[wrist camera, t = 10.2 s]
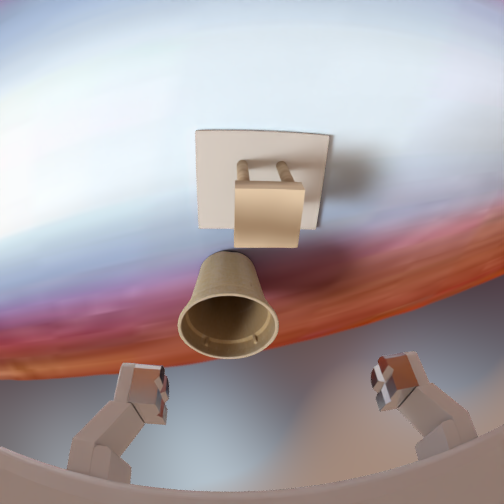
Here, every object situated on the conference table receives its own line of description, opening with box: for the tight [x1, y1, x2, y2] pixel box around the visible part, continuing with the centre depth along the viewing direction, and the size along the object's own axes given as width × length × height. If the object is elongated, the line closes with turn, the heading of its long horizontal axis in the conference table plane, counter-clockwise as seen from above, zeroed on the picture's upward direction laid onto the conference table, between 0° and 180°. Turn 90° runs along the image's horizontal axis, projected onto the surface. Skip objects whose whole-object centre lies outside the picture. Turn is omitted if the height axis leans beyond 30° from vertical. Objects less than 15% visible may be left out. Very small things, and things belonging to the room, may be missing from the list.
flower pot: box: [178, 251, 279, 359], centre depth 32 cm, size 9×9×9 cm
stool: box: [234, 160, 305, 248], centre depth 26 cm, size 5×5×7 cm
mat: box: [195, 130, 329, 230], centre depth 29 cm, size 10×12×1 cm
